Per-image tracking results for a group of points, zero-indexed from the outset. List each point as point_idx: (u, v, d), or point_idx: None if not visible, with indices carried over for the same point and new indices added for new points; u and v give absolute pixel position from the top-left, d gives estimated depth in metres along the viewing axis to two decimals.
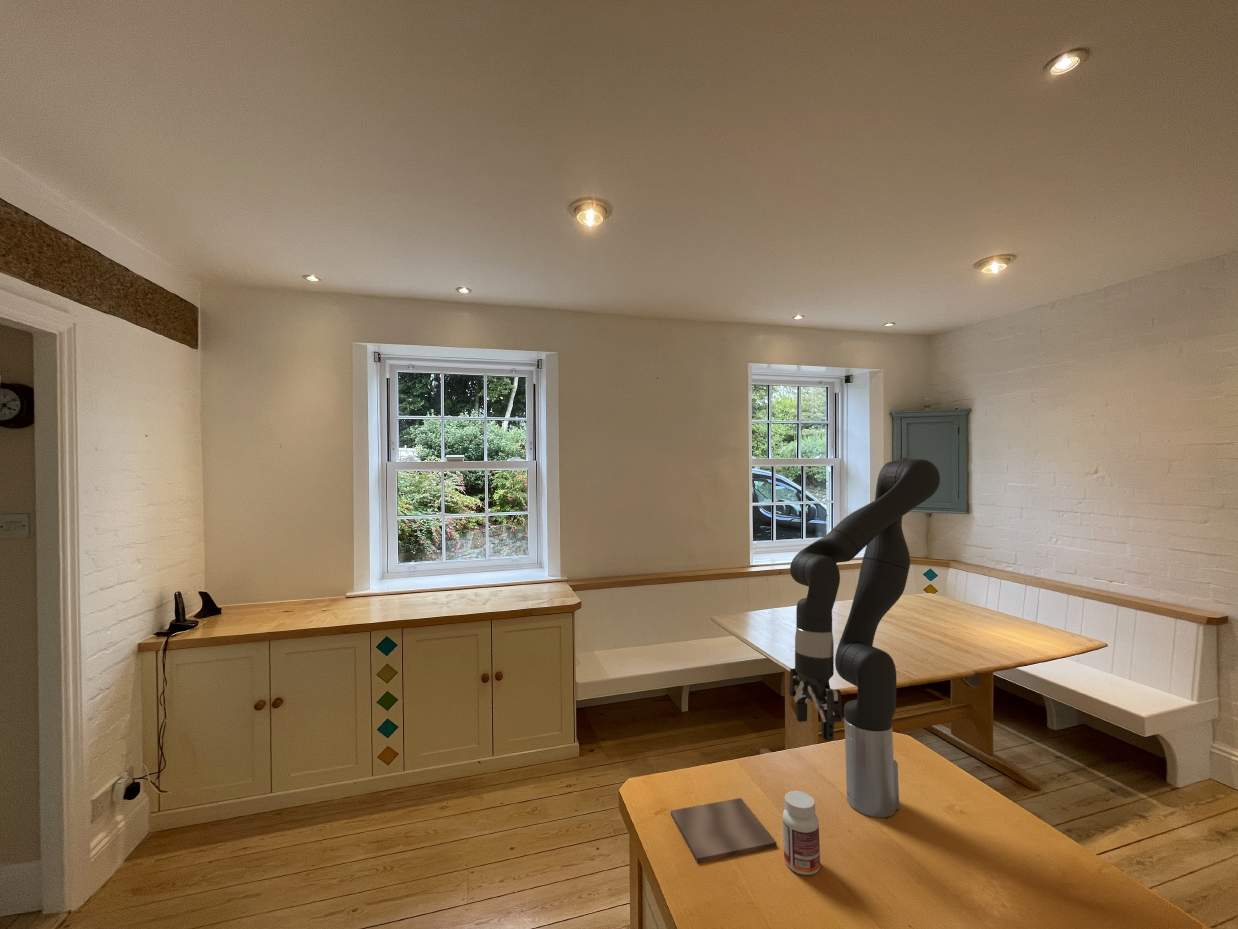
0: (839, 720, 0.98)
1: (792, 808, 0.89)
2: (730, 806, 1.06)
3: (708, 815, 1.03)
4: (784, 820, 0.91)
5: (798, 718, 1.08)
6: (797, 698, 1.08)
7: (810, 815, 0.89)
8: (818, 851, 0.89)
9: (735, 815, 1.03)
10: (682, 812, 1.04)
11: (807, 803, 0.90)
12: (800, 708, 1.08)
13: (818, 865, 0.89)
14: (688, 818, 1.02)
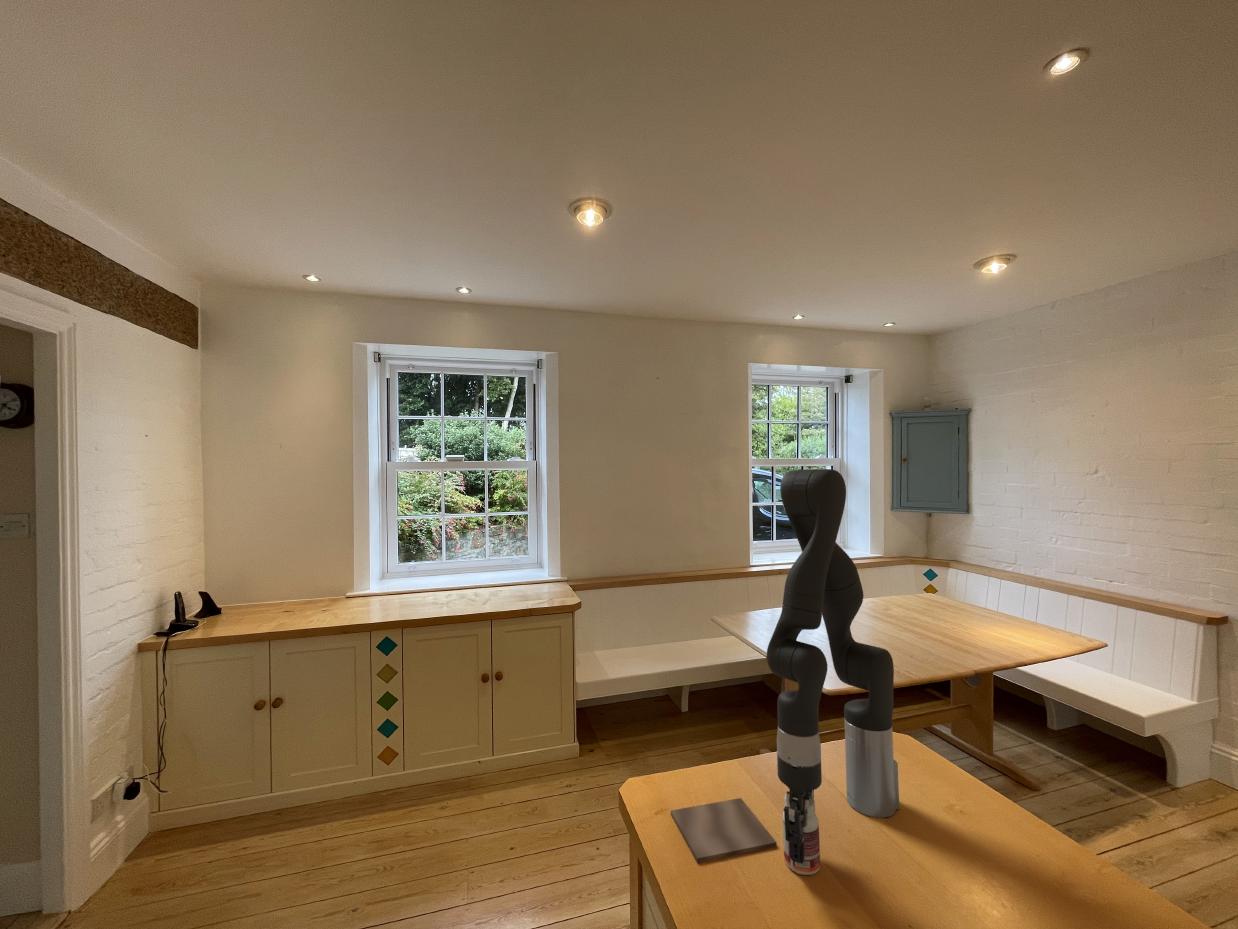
0: None
1: None
2: (730, 806, 1.06)
3: (708, 815, 1.03)
4: (784, 820, 0.91)
5: None
6: None
7: (810, 815, 0.89)
8: (818, 851, 0.89)
9: (735, 815, 1.03)
10: (682, 812, 1.04)
11: None
12: None
13: (818, 865, 0.89)
14: (688, 818, 1.02)
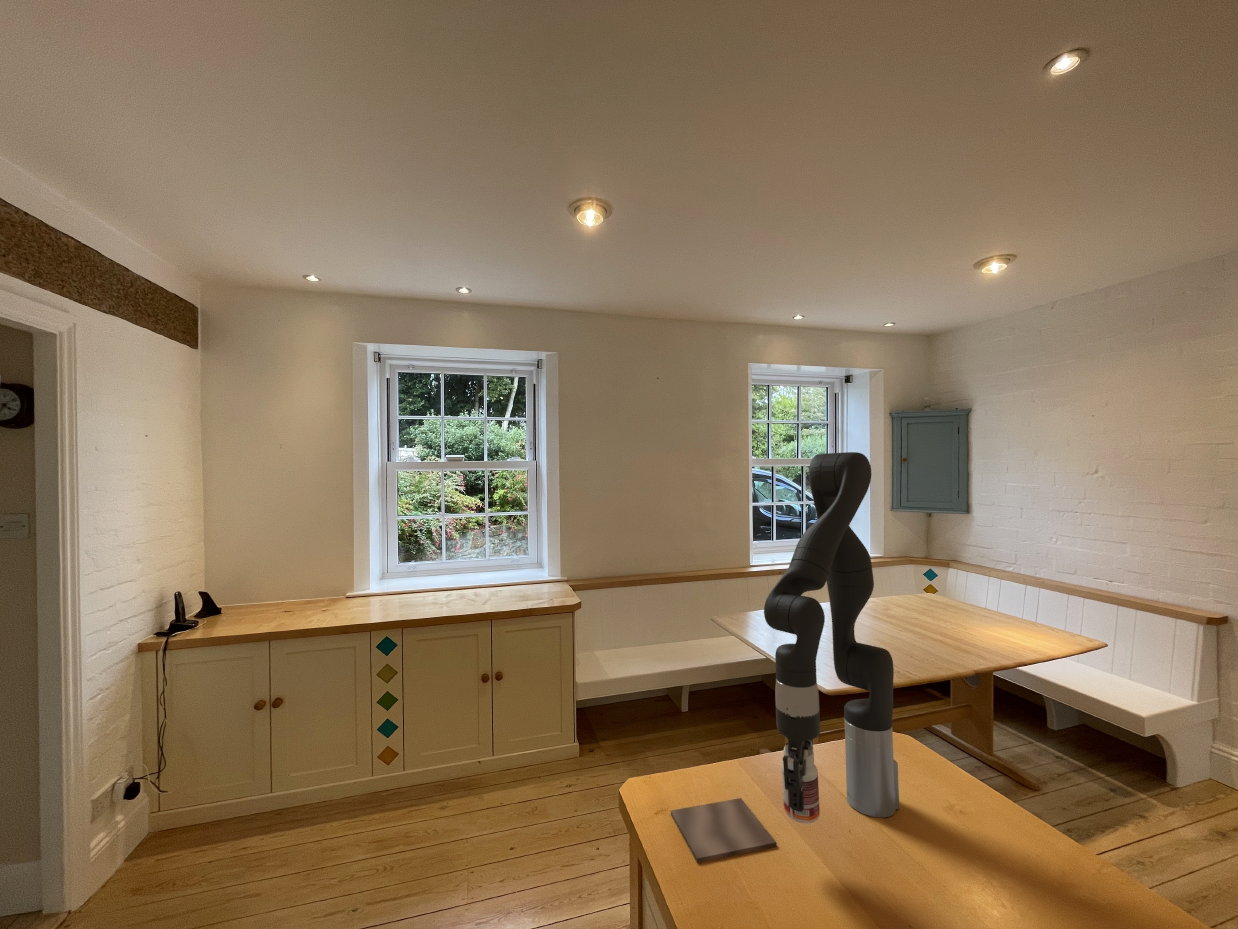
0: None
1: None
2: (730, 806, 1.06)
3: (708, 815, 1.03)
4: (783, 771, 0.91)
5: None
6: None
7: (809, 765, 0.89)
8: (817, 800, 0.90)
9: (735, 815, 1.03)
10: (682, 812, 1.04)
11: None
12: None
13: (817, 814, 0.89)
14: (688, 818, 1.02)
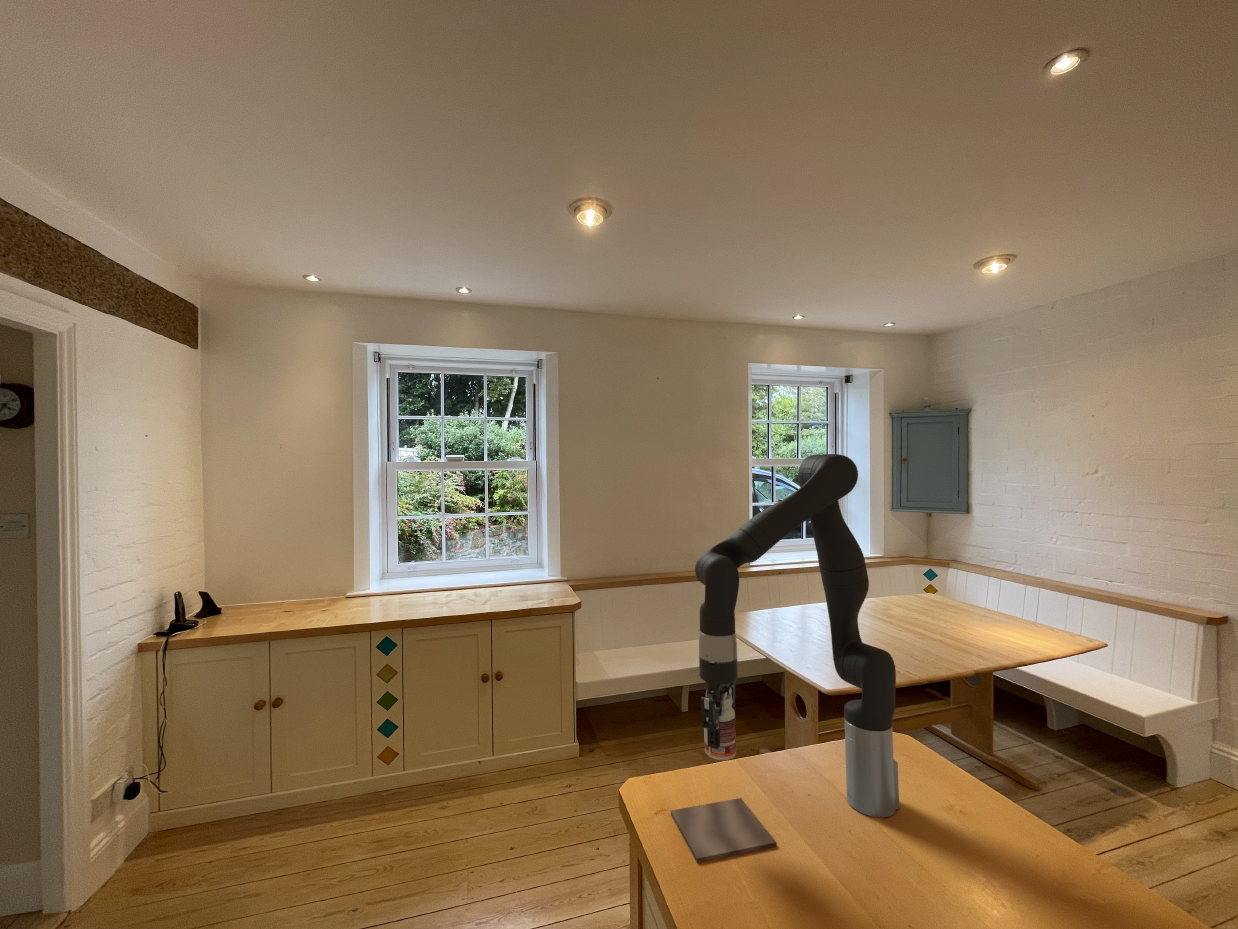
0: None
1: None
2: (730, 806, 1.06)
3: (708, 815, 1.03)
4: None
5: None
6: (719, 722, 0.97)
7: (726, 707, 0.98)
8: (733, 739, 0.99)
9: (735, 815, 1.03)
10: (682, 812, 1.04)
11: None
12: None
13: (733, 752, 0.98)
14: (688, 818, 1.02)
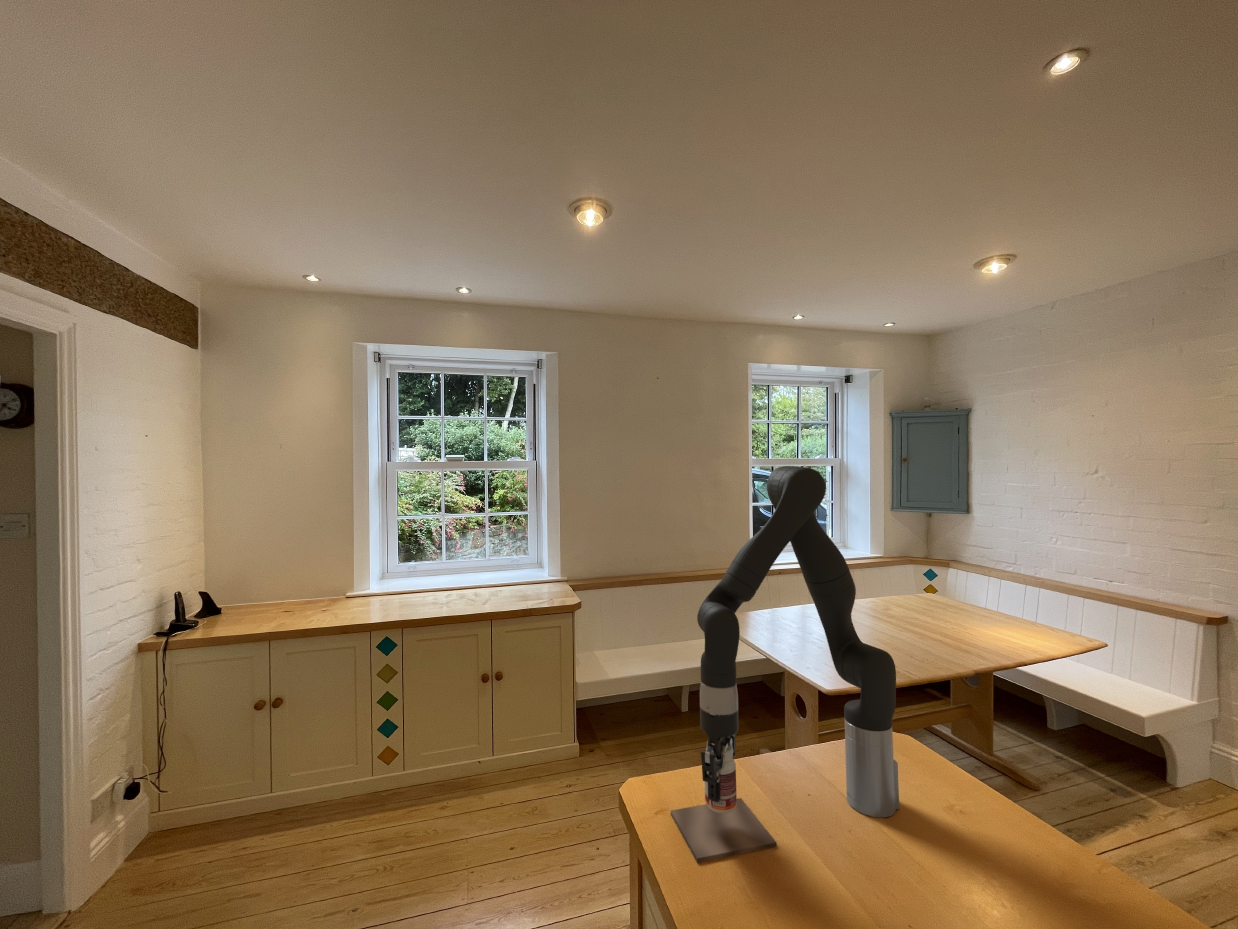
0: None
1: None
2: None
3: (708, 815, 1.03)
4: None
5: None
6: (720, 775, 0.97)
7: (727, 759, 0.98)
8: (734, 792, 0.98)
9: (735, 815, 1.03)
10: (682, 812, 1.04)
11: None
12: None
13: (734, 804, 0.98)
14: (688, 818, 1.02)
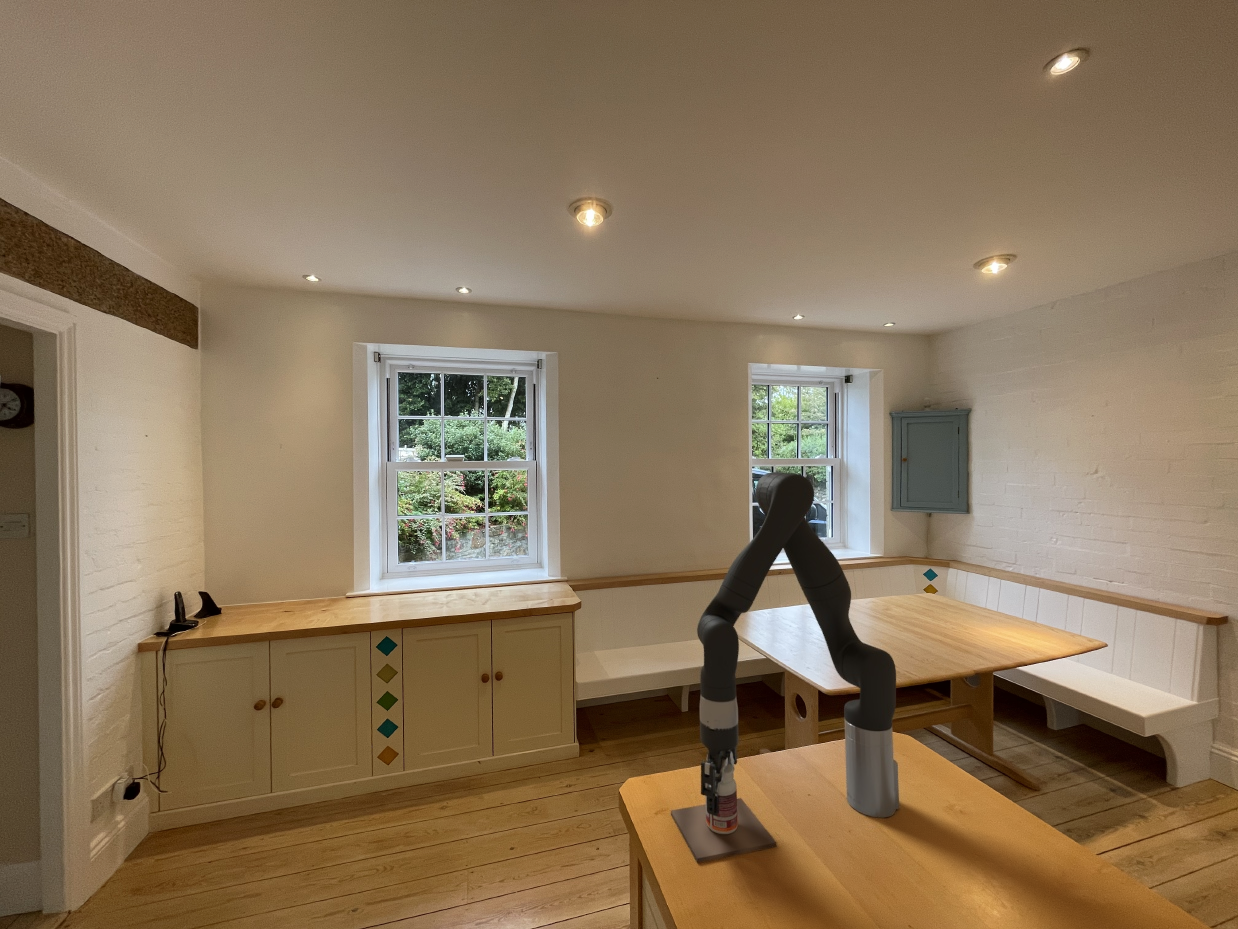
0: None
1: None
2: None
3: None
4: None
5: None
6: (718, 788, 0.96)
7: (727, 780, 0.98)
8: (735, 813, 0.98)
9: None
10: (682, 812, 1.04)
11: (725, 770, 0.99)
12: None
13: (735, 825, 0.98)
14: (688, 818, 1.02)
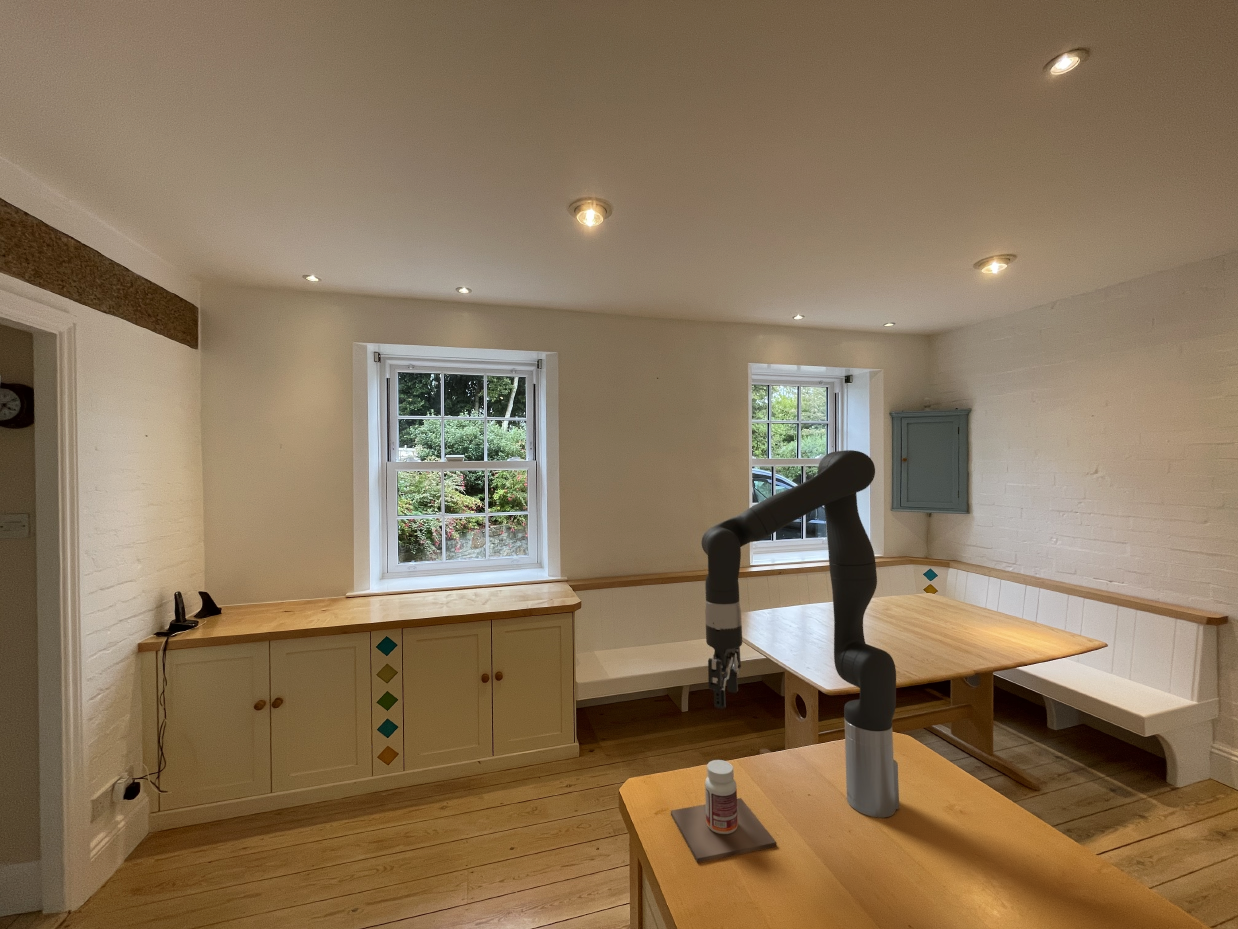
0: None
1: (712, 774, 0.99)
2: None
3: None
4: (705, 785, 1.00)
5: None
6: (725, 683, 1.03)
7: (727, 780, 0.98)
8: (735, 813, 0.98)
9: None
10: (682, 812, 1.04)
11: (725, 770, 0.99)
12: None
13: (735, 825, 0.98)
14: (688, 818, 1.02)
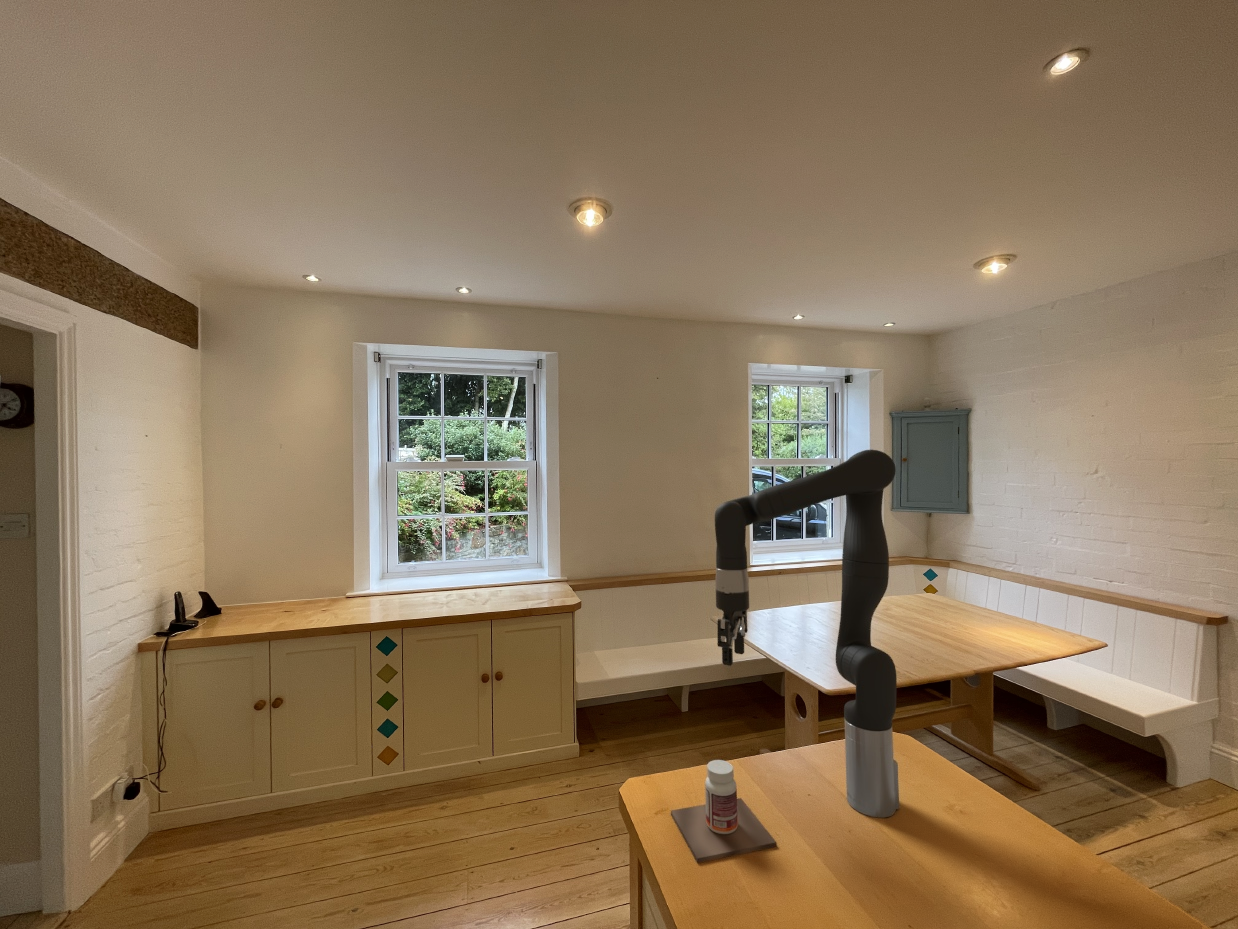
0: None
1: (712, 774, 0.99)
2: None
3: None
4: (705, 785, 1.00)
5: None
6: (732, 642, 1.12)
7: (727, 780, 0.98)
8: (735, 813, 0.98)
9: None
10: (682, 812, 1.04)
11: (725, 770, 0.99)
12: None
13: (735, 825, 0.98)
14: (688, 818, 1.02)
